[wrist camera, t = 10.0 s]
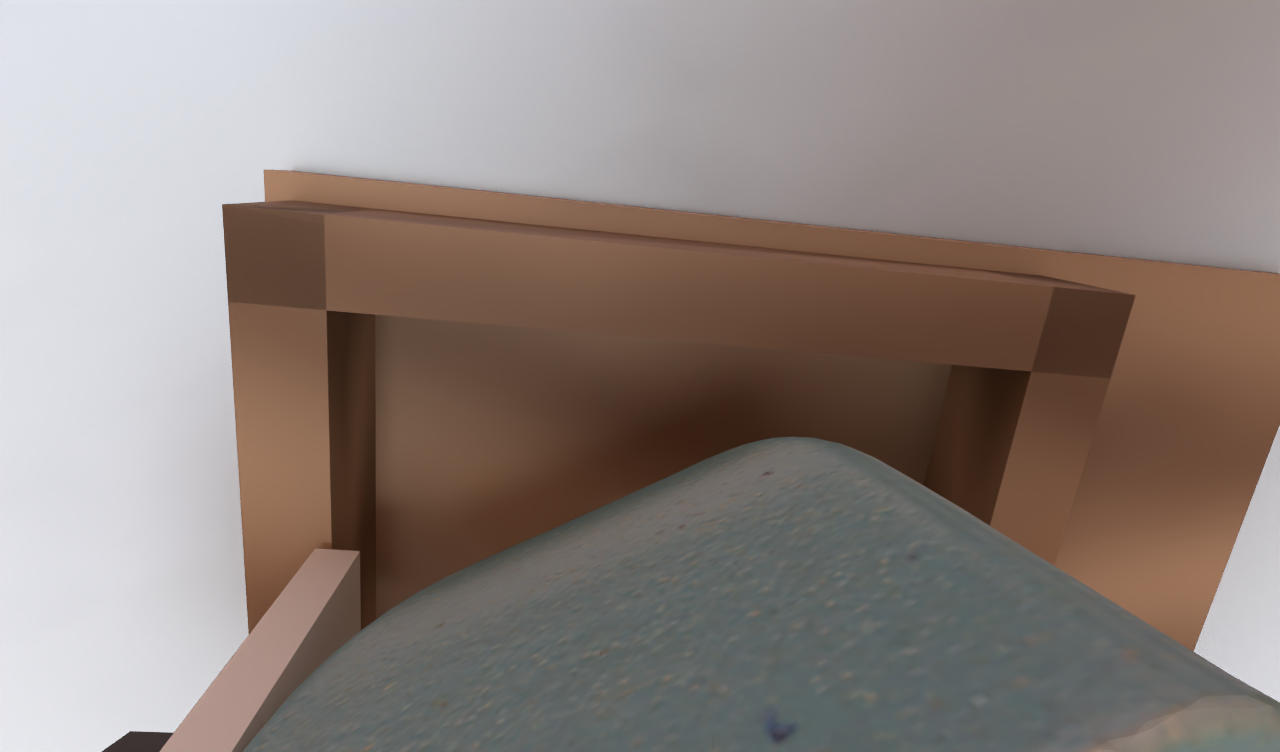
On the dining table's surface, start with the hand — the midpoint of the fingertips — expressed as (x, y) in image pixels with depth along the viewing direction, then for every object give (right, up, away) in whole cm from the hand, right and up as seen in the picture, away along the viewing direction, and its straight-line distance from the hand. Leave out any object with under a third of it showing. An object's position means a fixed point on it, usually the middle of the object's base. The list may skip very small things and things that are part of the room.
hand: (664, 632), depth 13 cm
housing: (+2, -2, +5) cm, 6 cm away
